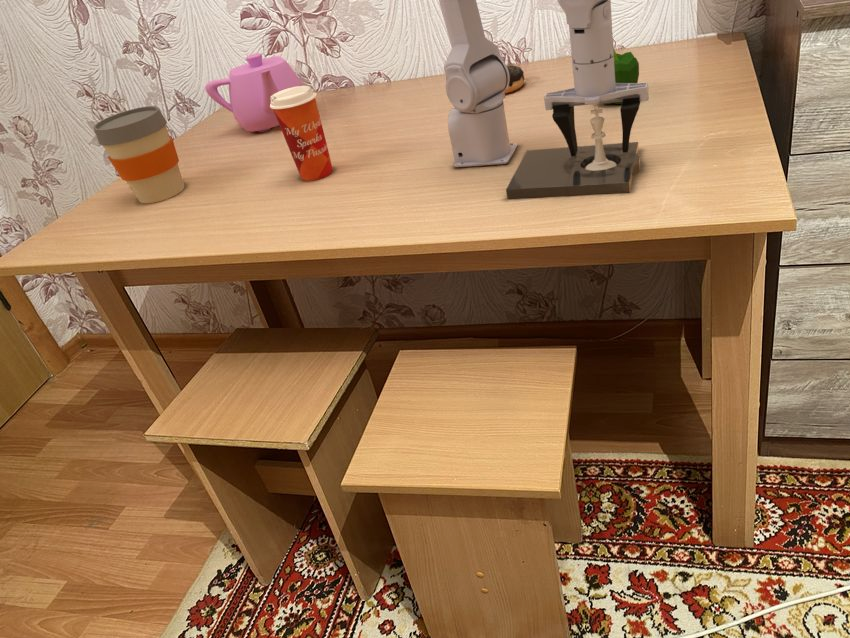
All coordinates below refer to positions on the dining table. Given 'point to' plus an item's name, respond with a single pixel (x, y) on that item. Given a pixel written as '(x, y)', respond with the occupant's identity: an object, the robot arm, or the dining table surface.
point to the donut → (515, 78)
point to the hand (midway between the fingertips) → (599, 151)
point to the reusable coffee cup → (142, 152)
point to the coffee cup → (303, 131)
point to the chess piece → (599, 144)
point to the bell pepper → (625, 69)
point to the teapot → (255, 90)
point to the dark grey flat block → (573, 172)
